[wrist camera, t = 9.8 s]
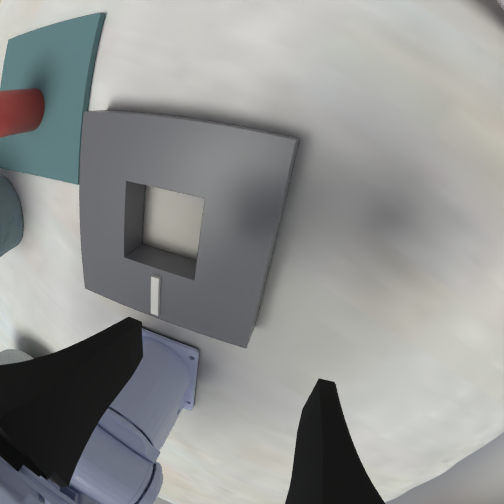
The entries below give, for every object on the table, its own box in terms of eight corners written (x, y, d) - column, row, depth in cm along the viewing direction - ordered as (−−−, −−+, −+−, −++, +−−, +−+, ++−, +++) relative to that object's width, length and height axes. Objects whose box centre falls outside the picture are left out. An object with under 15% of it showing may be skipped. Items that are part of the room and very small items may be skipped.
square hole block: (254, 327, 23) (245, 351, 21) (102, 274, 25) (82, 289, 22) (299, 138, 17) (295, 140, 15) (106, 110, 19) (80, 111, 16)
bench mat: (82, 183, 22) (78, 184, 21) (0, 165, 24) (-4, 167, 23) (105, 14, 16) (100, 12, 15) (12, 40, 17) (8, 39, 17)
